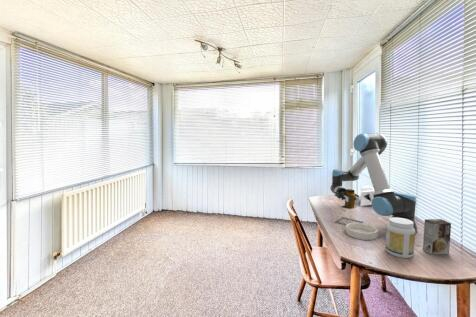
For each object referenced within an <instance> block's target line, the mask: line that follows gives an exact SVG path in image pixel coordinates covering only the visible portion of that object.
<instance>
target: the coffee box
mask: <svg viewBox="0 0 476 317" xmlns="http://www.w3.org/2000/svg"><path fill="white" fill-rule="evenodd" d="M451 229H452V223H451V222H448V221H447V220H445V219H442V218H436V219H432V218H431V219H430V218H429V219H426V218H425V219H424V228H423V239H422V250H424V251H425V252H427V253H429V254H430V255H450V244H451V231H452V230H451Z"/></svg>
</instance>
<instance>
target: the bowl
mask: <svg viewBox="0 0 476 317" xmlns="http://www.w3.org/2000/svg"><path fill="white" fill-rule="evenodd" d="M346 224H347V225H345V228H344V230H345V234H346V235H348V236H349V237H351V238H354V239H358V240H363V241H374V240H376V239H377V238H378V236H379V229H378V228H377V227H375V226H373V225H370V224H367V223H364V222H363V223H359V222H350V223H346Z"/></svg>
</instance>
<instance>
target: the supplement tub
mask: <svg viewBox="0 0 476 317" xmlns="http://www.w3.org/2000/svg"><path fill="white" fill-rule="evenodd" d="M413 224H414V223H413V221H411V220H408V219H404V218H398V217H393V218H392V217H390V218H389V219H388V223H387V224H386V232H385V233H386V234H385V251H386V252H387V253H388V254H390V255H391V256H394V257H397V258H401V259H402V258H403V259H409V258H412V257H413V256H414V255H415V254H414V253H415V245H416V244H415V243H416V242H415V241H416V233H415V229H414V228H413V226H414V225H413Z"/></svg>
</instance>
